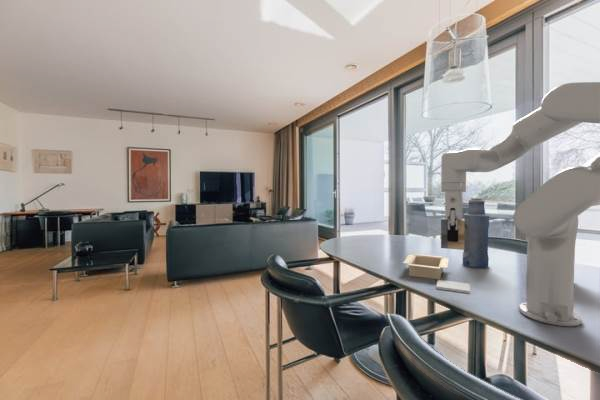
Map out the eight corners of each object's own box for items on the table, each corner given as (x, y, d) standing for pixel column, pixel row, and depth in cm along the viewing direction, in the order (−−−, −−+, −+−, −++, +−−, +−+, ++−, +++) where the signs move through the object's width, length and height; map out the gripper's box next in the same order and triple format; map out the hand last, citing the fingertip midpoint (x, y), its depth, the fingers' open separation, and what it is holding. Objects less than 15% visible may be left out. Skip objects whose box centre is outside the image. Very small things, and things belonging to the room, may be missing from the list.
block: (464, 249, 95) (464, 220, 94) (440, 248, 98) (441, 219, 98) (464, 247, 99) (464, 218, 98) (441, 245, 102) (441, 217, 102)
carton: (447, 282, 104) (447, 269, 104) (401, 276, 112) (401, 264, 112) (449, 268, 121) (449, 257, 121) (409, 263, 129) (409, 253, 129)
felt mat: (469, 293, 93) (469, 291, 93) (436, 288, 98) (436, 286, 98) (469, 285, 100) (469, 283, 100) (437, 281, 105) (437, 279, 105)
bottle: (460, 262, 131) (460, 197, 130) (484, 263, 128) (484, 197, 127) (466, 267, 122) (466, 198, 121) (492, 269, 119) (493, 198, 118)
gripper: (466, 188, 88) (465, 245, 89) (465, 187, 103) (465, 237, 104) (439, 188, 92) (439, 243, 93) (442, 187, 106) (442, 235, 107)
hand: (452, 239), depth 98 cm, fingers closed on block, 4 cm apart
